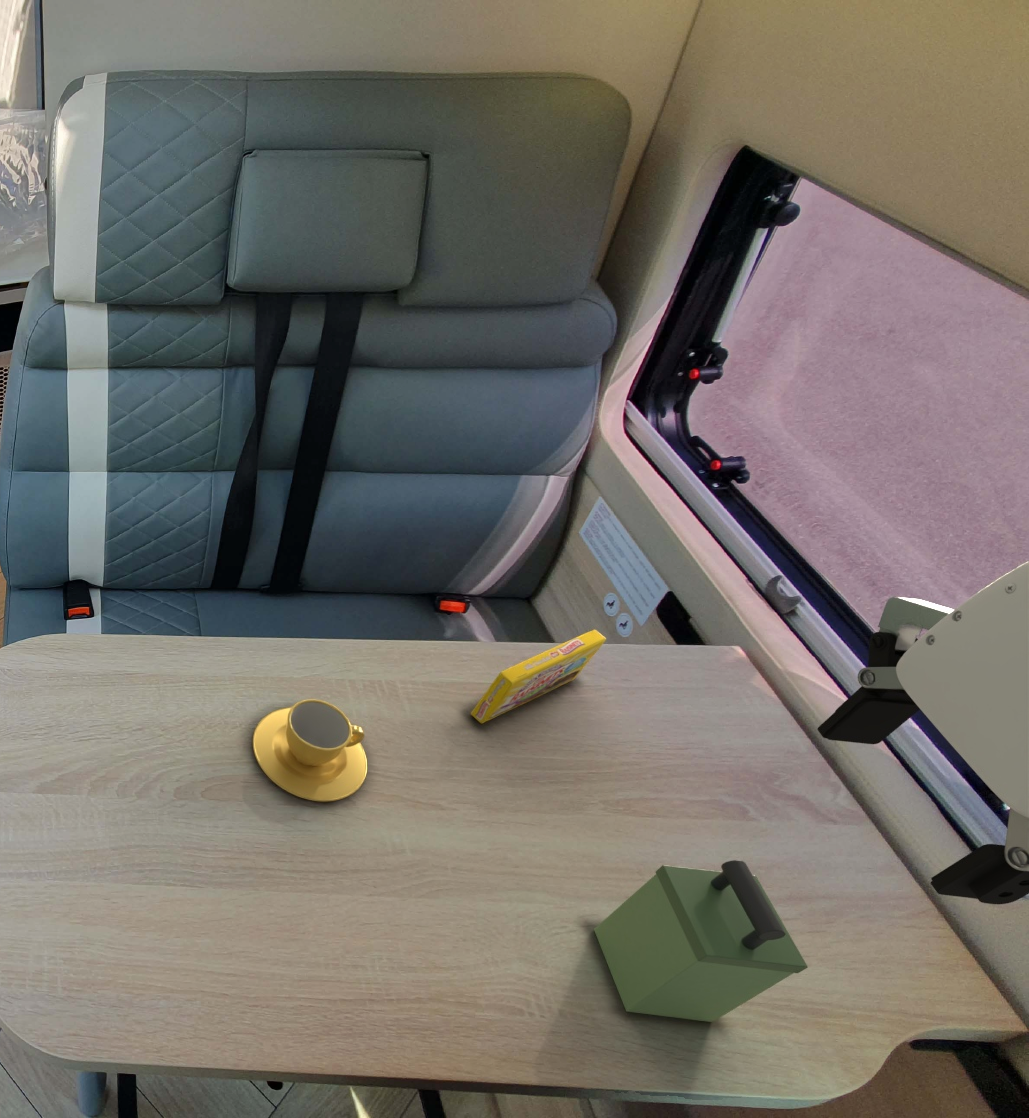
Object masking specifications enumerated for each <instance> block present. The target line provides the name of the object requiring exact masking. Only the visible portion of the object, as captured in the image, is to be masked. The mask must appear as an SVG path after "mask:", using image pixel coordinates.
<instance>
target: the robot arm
mask: <svg viewBox="0 0 1029 1118" xmlns="http://www.w3.org/2000/svg"><path fill="white" fill-rule="evenodd" d="M877 628H879V629H878V631H875V632H873V633H872V634H871V635H870V637H869V640H868V658H867V659H868V660H867V661H868V662H867V666H866V667H863V668H861V669H860V670H859V671H858V673H857V681H858V684H859V685H860V687H859V688H858V689H857V690H856V691H855V692H853V694H852V695H850V696H849V697H848V698H847V699H846V700H845V701H844V702H843V703H841V705H839V706H838V707H837V708H836V709H835V711H834V712H833V713H832V714H831V715H830V716H829V717H828V718H827V719H825V720H824V721H823V722H822V723H821V724H820V725H819V726H818V727H817V729H816V730H817V732H818V733H819V734H820V736H821V737H822V738H823V739H827V740H828V741H835V742H836V741H837V742H845V743H856V744H864V745H877V744H880V743H881V742H883V741H884V740H886V739H887V738H888V737H889V736H890V735H891V734H892V733H894V732H895V731H896V730H898V729H899V728H900V727H901V726H902V725H904V723H906V722H907V721H908V720H910V718H912V717H913V716H914V715H915V714H916V713H918V712H919V711H921V712H922V713H923V715H924V716H926V718H927V719H928V720H929V721H930V722H931V724H932V725H933V726H934V727H935V728H936V730H938V732H939V733H940V734H941V735H942V736H943V738H944V739H945V740H946V741H947V742H948V743H949V744H950V746H951V747H952V748H953V749H954V750H955V751H956V752H957V753H958V754H959V756H960V758H962V759H963V760H964V761H965V762H966V764H967V765H968V766H969V767H970V768H971V769H972V770H973V772H975V773H976V775H977V776H978V777H979V778H980V779H981V780H982V782H983V783H985V785H986V786H987V787H988V788H989V789H990V791H992V792H993V793H994V794H995V796H996V797H998V799H999V800H1001V802H1002V803H1004V804H1005V805H1006V806H1008V808H1009V812H1008V819H1007V820H1008V821H1007V828H1006V836H1005V843H1004V844H997V843H996V844H995V843H986V844H983V845H981V846H979V847H978V848H976V849H974V850H973V851H971V852H970V853H968V854H966V855H965V856H963V857H962V858H960V859H958V860H957V861H955V862H953V864H951V865H949V866H947V867H946V868H945V869H942V870H941V871H940V872H938V873H937V874H935V875H934V876H932V877H931V878H930V879H931V881H930V885H931V887H932V888H933V889H934V890H935V892H936V893H937V894H938V895H942V896H950V897H958V898H965V899H974V900H975V899H976V900H978V902H979V903H982V904H988V905H1006V904H1011V903H1014V902H1016V901H1018V900H1021V899H1022V898H1024V897H1026V896H1027V895H1028V894H1029V560H1028V561H1026V562H1024V563H1022V564H1020V565H1019V566H1017V567H1016V568H1014V569H1012V570H1011V571H1009V572H1007V573H1004V575H1002V576H1000V577H999V578H997V579H996V580H994V581H993V582H991V583H990V584H988V585H987V586H985V587H984V588H982V589H980V590H979V591H978V592H976V593H975V594H973V595H972V596H971V597H969V598H968V599H967V600H965V601H964V602H962V603H961V604H959V605H958V606H957V607H956V608H955V609H953V608H950V607H947V606H943V605H940V604H936V603H934V602H929V601H927V600H923V599H920V598H909V597H900V596H899V597H897V596H892V597H889V599H887V600H886V603H885V605H884V608H883V611H882V614H881V617H880V619H879V623H878V625H877ZM923 629H924V630H926V632H925V633H923V634H922V635H921V633H922V631H923ZM920 635H921V636H920ZM917 636H918V638H917Z"/></svg>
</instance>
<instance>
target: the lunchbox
mask: <svg viewBox="0 0 1029 1118" xmlns="http://www.w3.org/2000/svg"><path fill="white" fill-rule="evenodd" d="M720 869H721V870H722V871H720V870H711V869H702V868H693V867H683V866H675V865H665V864H663V865H661V866H660V867H659V868H657V869H656V870H655V874H654V875H653V876H652V877H651V878H650V879H649V880H647V881H646V882H645V883H644V884H643V885H642V886H641V887H639V888H638V889H637V890H636V891H635V892H634V893H633V894H632V895H631V896H630V897H628V898H627V899H626V900H625V901H624V902H622V903H621V905H620V906H618V907H617V908H616V909H615V910H614V911H613V912H611V913H610V914H609V915H608V916H606V918H605V919H604V920H602V921H601V922H599V924H598V925H597V926H596V927H595V928H593V931H594V934H595V936H596V939H597V941H598V944H599V946H600V949H601V951H602V954H603V957H604V959H605V962H606V964H607V966H608V969H609V971H610V974H611V976H612V979H613V982H614V985H615V987H616V989H617V992H618V994H619V997H620V999H621V1002H622V1004H623V1007H624V1010H625V1011H626V1012H628V1013H636V1014H643V1015H653V1016H659V1017H667V1018H668V1017H669V1018H677V1019H684V1020H693V1021H701V1022H708V1023H713V1022H715V1021H717V1020H719V1019H720V1018H722V1017H723V1016H725V1015H727V1014H728V1013H730V1012H732V1011H733V1010H735V1009H737V1008H738V1007H740V1006H742V1005H743V1004H745V1003H747V1002H748V1001H750V1000H752V999H753V998H756V997H757V996H759V995H760V994H762V993H763V992H765V991H767V990H769V989H770V988H772V987H773V986H775V985H776V984H778V983H780V982H781V981H783V980H785V979H787V978H789V977H790V976H792V975H793V974H799V973H802V972H803V971H804V970H806V969H808V967H809V966H808V964H807V963H806V961H805V959H804V958H803V956H802V954H801V953H800V951H799V948H798V947H797V945H796V943H795V942H794V940H793V939H792V936H791V935H790V933H789V932H788V929H787V927H786V926H785V924H784V923H783V920H782V919H781V917H780V915H779V914H778V912H777V910H776V909H775V907H774V905H773V903H772V901H771V900H770V898H769V896H768V895H767V892H766V891H765V889H764V888H763V886H762V883H761V882H760V881H759V879H758V877H757V876H756V874H753V873H752V872H751V870H750V868H749V866H748V864H747V862H745V861H743V860H740V859H734V860H733V859H732V860H729V861H725V862H723V863H722V864H721V865H720Z"/></svg>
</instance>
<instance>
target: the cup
mask: <svg viewBox="0 0 1029 1118" xmlns="http://www.w3.org/2000/svg"><path fill="white" fill-rule="evenodd" d="M364 739H365V732H364V729H363V727H362V726H360V725H357V724H355V725H353V724H351V722H350V720H349V718H348V717H347V716H346V714H345V713H344V711H342V710H341V709H340V708H338V707H337V706H335V705H334V704H332V703H330V702H327V701H324V700H320V699H313V698H311V699H304V700H300V701H298V702H296V703H294V704H293V705H292V706H287V707H282V708H278V709H276V710H273V711H271V712H269V713H268V714H265V716H264V717H262V718H261V720H260V721H259V722H258V723H257V724H256V727H255V729H254V732H253V736H252V749H253V753H254V757H255V759H256V761H257V763H258V765H259V767H260V768H261V769H262V771H263V773H264V774H265V775H266V776H267V777H268V778H269V779H270V781H272V782H273V783H274V784H276V785H277V786H278V787H279V788H281V789H282V790H283V791H284V790H285V792H288V793H289V794H292V795H293V796H296V797H299V798H302V799H305V800H308V801H314V802H335V801H339V800H343V799H346V798H348V797H350V796H351V795H353V794H354V793H356V792H357V791H358V790H359V789H360V788H361V786H362V785H363V783H364V781H365V779H366V776H367V772H368V761H367V756H366V752H365V750H364V747H363V745H362V744H361V742H362V741H363V740H364Z"/></svg>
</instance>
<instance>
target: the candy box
mask: <svg viewBox="0 0 1029 1118" xmlns="http://www.w3.org/2000/svg"><path fill="white" fill-rule="evenodd" d="M606 641H607V637H606V636H604V635H602V634H601V632H599V631H598V630H597V629H593V630H591V631H587V632H585V633H583V634H581V635H578V636H576V637H573V638H572V639H570V640H567V641H565V642H563V643H560V644H559V645H556V646H554V647H551V648H550V649H547V650H545V651H543V652H542V653H539V654H536V655H534V656H532V657H530V658H528V659H526V660H523V661H521V662H519V663H516V664H515V665H512V666H510V667H508V668H505V669H503V670H502V671H500V672H499V673H498V675H497V676H496V678H495V679H494V680H493V682H492V683H491V685H490V686H489V687H488V689H486V691H485V692H484V694H483V696H482V697H481V698H480V700H479V701H478V702H477V704H476V705H475V707H473V709H472V711H471V712H470V715H471V716H472V717H473V718H474V719H475V720H476V721H477V722H478V723H480V724H484V723H486V722H489V721H490V720H492V719H495V718H497V717H498V716H501V715H502V714H505V713H507V712H509V711H511V710H514V709H516V708H518V707H520V706H522V705H524V704H526V703H528V702H530V701H532V700H535V699H537V698H539V697H541V696H543V695H545V694H547V693H549V692H551V691H553V690H556V689H557V688H559V687H561V686H563V685H565V684H568V683H570V682H572V681H574V680H576V678H577V677H578V675H579V674H580V673H581V672H582V671H583V669H584V668H585V667H586V666H587V664H588V663H589V662H590V661H591V660H592V658H593V657H594V656H595V655H596V653H597V652H598V651H599V650H600V648H601V647H602V645H603V644H604V643H605V642H606Z"/></svg>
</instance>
